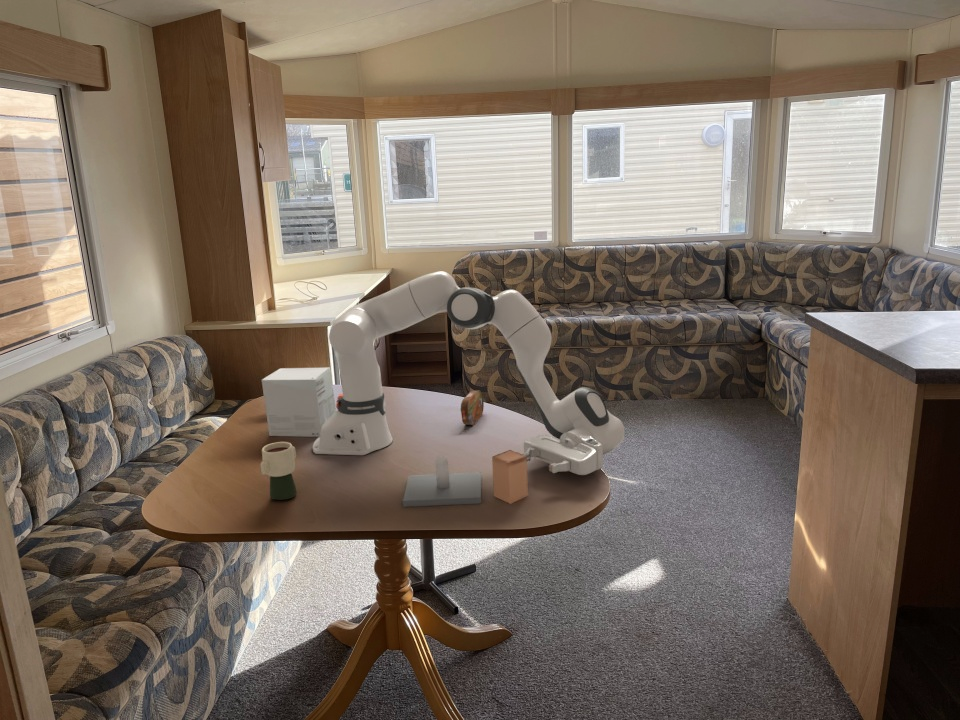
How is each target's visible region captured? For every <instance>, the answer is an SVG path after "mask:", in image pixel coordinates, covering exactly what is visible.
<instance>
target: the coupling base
mask: <svg viewBox="0 0 960 720" xmlns="http://www.w3.org/2000/svg"><path fill="white" fill-rule="evenodd" d="M434 463H435V473H429V474H427V473H426V474H409V475H408V478H407V482H406V486H405V491H404V494H403V497H402V507H404V508H405V507H406V508H407V507H424V506H425V507H426V506H449V505H471V504H473V505H474V504H475V505H476V504H482V471H473V472H471V471H469V472H454V473H453V472H451V473H450V472H449V471H450V470H449V460H448V459H447V457H445V455H444V456H442V455H440V456H438V457H436V459H435V462H434Z"/></svg>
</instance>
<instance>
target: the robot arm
mask: <svg viewBox="0 0 960 720" xmlns="http://www.w3.org/2000/svg"><path fill="white" fill-rule="evenodd" d="M443 312H446V313H447V316H448V318H449V319H450V321H451V322H452V323H453V324H454V325H455V326H457V327H459V328H462V329H466V330H476V329H482V328H485V327H486V326H488V325H493V326H494V327H496V328H497V329H498V331H500V333H501V334H502V335H503V337H504V339H505V340H506V341H507V343H508V344H509V346H510V349H511V350H512V352H513V355H514V357H515V366H516V370H517V373H518V374H519V376H520V379H521V380H522V382H523V385H524V386H525V388H526V390H527V392H528V393H529V395H530V397H531V399H532V400H533V402H534V405H535V406H536V407H537V409H538V411H539V414H540V416H541V418H542V422H543V425H544V427H545V429H546V430H547V432H548V433H549V434H550V435H552V436H550V435H547V434H546V435H544V434H543V435H538V436H534V437H531V438H527V439H525V440H524V442H523V452H522V453H521V454H522V455H525V456H526V457H527V462H530V461H531V458H534V459H537V460H539V461H541V462H545V463H546V464H549V465H548V470H549V472H550V473H552V474H555V473H558V472H571V473H573V474H575V475H578V476H586V475H589V474H591V473H593V472H595V471H598V470H601V469H602V468H603V459H604V458H603V457H604V455H606V454H608V453H610V452H612V451H614V450H615V449H616V448H618V447H619V446H620V445H621V444H622V442H623V440H624V438H625V427H624V424H623V422H622V421H621V419H619V417H617V416H615V415H613V414H612V413H611V412H610V411H609V410H608V409H607V406H606V403H605V401H604V400H603V398H602V397H601V394H599V393H598V392H597V391H596V390H595V389H593V388H590V387H587V386H581V387H578V388H577V389H575V390H574V391H572V392H571V393H569V394H567V395H566V396H565V397H563V398H562V399H561V400H560V399H559V398H558V397H557V396H556V394H555V392H554V390H553V389H552V387H551V386H550V383H549V381H548V380H547V377H546V376H545V373H544V363H545V360H546V357H547V356H548V353H549V352H550V349H551V345H552V332H551V329H550V328H549V326H548V324H547V323H546V321H545V320H544V318H543V317H542V316H541V315H540V314H539V312H538V310H536V308H535V306H534V305H532V304H531V302H530V301H529V300H528V299H527V298H526V297H525V296H524V295H523V294H522V293H521V292H520V291H517V290H515V289H506V290H504V291H503V290H502V291H501V292H499V293H498V294H497V295H494V296H492V295H490V294H488V293H487V292H485V291H484V290H482V289H480V288H477V287H471V286H470V287H469V286H467V287H466V286H464V287H459V286H458V283H457V282H456V280H455V278H454V277H453V276H452V275H450V273H448V272H446V271H443V270H438V271H434V272H430V273H427V274H423V275H421V276H418V277H416V278H414V279H412V280H408V281H407V282H405V283H403V284H401V285H399V286H397V287H395V288H392V289H390V290H388V291H387V292H384V293H381V294H380V295H377V296H374V297H371V298H370V299H366V300H365V301H363V302H360V303H358V304H356V305H353V306H351V307H350V308H348V309H347V310H345V312H343V313H342V314H341V315H340V316H339V317H337V318H336V319H335V320H334V321H333V322H332V325H331V326H330V329H329V335H328V336H329V337H328V339H329V344H330V346H331V348H332V349H333V353H334V355H335V359H336V363H337V365H338V368H339V373H340V374H339V375H340V380H341V381H340V382H341V391H342V393H340V394H339V395H338V397H337V399H336V402H335V408H336V409H337V410H336V412H335V413H334V414H333V415H332V416H331V417H329V418H328V419H327V420H326V421H325V422H324V423H323V425H322V427H321V431H320V437H317V438H316V439H315V440H314V443H313V444H312V452H313V453H314V454H316V455H338V456H339V455H341V456H345V455H346V456H347V455H348V456H365V455H367V454H369V453H372V452H374V451H377V450H381V449H383V448H386V447H387V446H389V445H390V444H392V442H393V439H394V438H393V437H392V435H391V431H390V429H389V424H388V421H387V417H386V412H387V411H386V410H387V404H386V398H385V393H384V392H383V385H382V376H381V367H380V365H379V363H378V359H377V356H376V352H375V345H374V341H376V340H378V339H380V338H383V337H385V336H387V335H390V334H393V333H396V332H400V331H402V330H405V329H407V328H409V327H411V326H415V324H419V323H420V322H422V321H424V320H426V319H428V318H430V317H431V318H432V316H435V315H438V314H441V313H443Z"/></svg>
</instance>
